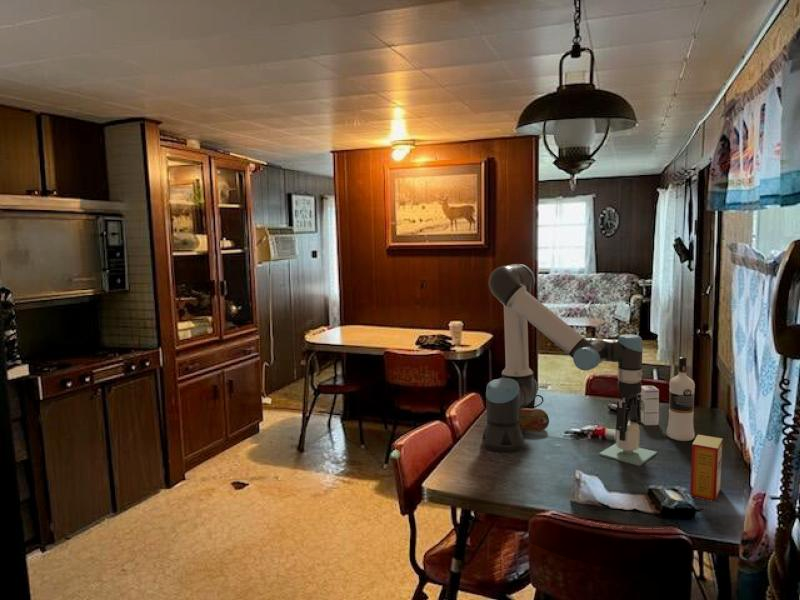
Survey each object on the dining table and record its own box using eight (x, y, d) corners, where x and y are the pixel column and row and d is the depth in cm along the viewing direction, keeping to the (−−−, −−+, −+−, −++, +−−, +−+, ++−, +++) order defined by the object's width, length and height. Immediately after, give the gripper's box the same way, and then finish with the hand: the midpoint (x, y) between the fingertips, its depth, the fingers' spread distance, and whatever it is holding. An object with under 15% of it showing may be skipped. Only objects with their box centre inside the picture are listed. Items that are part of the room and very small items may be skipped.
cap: (632, 451, 195) (633, 428, 194) (613, 446, 200) (614, 424, 199) (641, 446, 200) (642, 423, 198) (622, 441, 204) (622, 419, 203)
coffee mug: (511, 411, 249) (511, 388, 248) (527, 408, 253) (527, 386, 251) (528, 419, 239) (528, 395, 237) (545, 415, 242) (545, 392, 241)
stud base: (639, 466, 190) (640, 448, 189) (599, 454, 200) (599, 437, 199) (657, 453, 200) (657, 436, 199) (617, 443, 210) (617, 427, 209)
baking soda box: (696, 484, 176) (697, 433, 174) (720, 489, 172) (722, 437, 170) (690, 496, 168) (692, 442, 166) (715, 501, 164) (717, 447, 162)
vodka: (688, 432, 218) (691, 354, 215) (698, 442, 209) (701, 360, 205) (662, 432, 219) (665, 354, 215) (671, 441, 210) (674, 360, 206)
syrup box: (659, 425, 227) (660, 389, 226) (643, 425, 228) (644, 389, 226) (653, 420, 233) (654, 385, 231) (638, 420, 233) (639, 385, 231)
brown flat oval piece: (509, 429, 227) (509, 409, 226) (509, 427, 230) (509, 406, 229) (549, 432, 223) (549, 410, 222) (548, 429, 226) (549, 408, 225)
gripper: (627, 388, 187) (626, 457, 190) (652, 376, 201) (651, 440, 204) (605, 384, 192) (604, 451, 195) (631, 373, 206) (630, 435, 209)
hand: (628, 445), depth 199 cm, fingers closed on cap, 7 cm apart
